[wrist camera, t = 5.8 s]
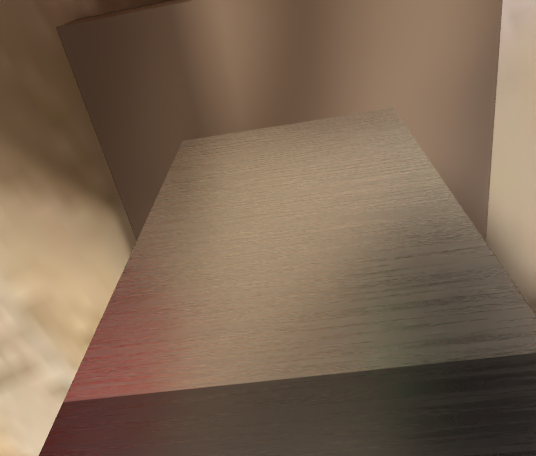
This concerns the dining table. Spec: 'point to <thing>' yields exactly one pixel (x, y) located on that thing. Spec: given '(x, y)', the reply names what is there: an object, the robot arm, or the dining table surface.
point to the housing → (307, 310)
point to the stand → (288, 80)
